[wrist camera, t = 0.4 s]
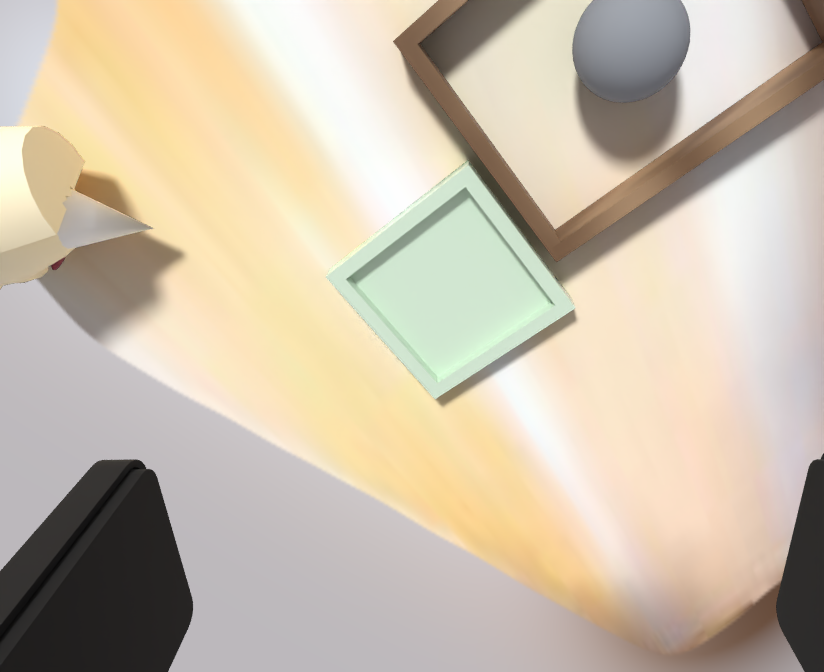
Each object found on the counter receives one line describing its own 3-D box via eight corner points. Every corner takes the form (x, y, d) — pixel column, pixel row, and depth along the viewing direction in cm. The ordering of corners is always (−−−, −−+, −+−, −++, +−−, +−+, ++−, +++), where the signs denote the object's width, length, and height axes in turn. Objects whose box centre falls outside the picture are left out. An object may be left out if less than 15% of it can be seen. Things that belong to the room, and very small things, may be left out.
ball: (636, -42, 29) (668, -56, 24) (689, 51, 30) (729, 54, 26) (544, 34, 30) (559, 34, 26) (599, 118, 32) (622, 132, 27)
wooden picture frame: (707, -240, 26) (728, -263, 24) (846, 44, 30) (873, 45, 28) (397, 41, 31) (393, 41, 29) (550, 249, 35) (556, 262, 33)
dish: (468, 160, 33) (468, 165, 32) (571, 298, 36) (575, 307, 35) (330, 268, 36) (325, 276, 35) (435, 387, 39) (434, 399, 38)
